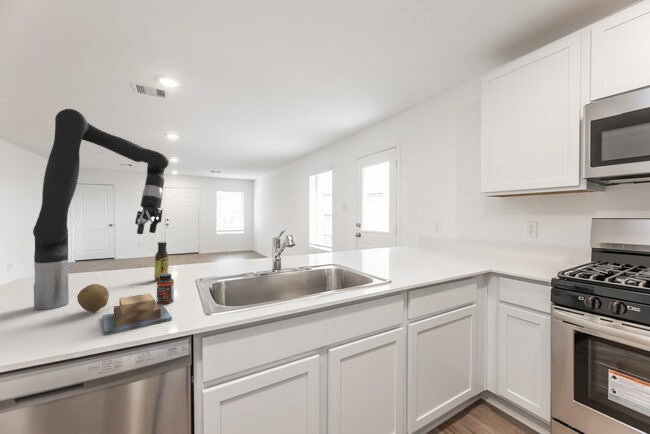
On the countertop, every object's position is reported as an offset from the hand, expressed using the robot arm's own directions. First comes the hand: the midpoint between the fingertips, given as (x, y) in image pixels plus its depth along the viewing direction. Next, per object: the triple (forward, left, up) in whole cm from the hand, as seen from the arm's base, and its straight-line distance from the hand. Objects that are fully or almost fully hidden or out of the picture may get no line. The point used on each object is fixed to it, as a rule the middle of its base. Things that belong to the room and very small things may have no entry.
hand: (145, 233), depth 120 cm
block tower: (-6, -27, -27) cm, 39 cm away
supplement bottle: (+5, -14, -27) cm, 31 cm away
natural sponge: (-17, -9, -27) cm, 34 cm away
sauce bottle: (+11, +26, -27) cm, 39 cm away
